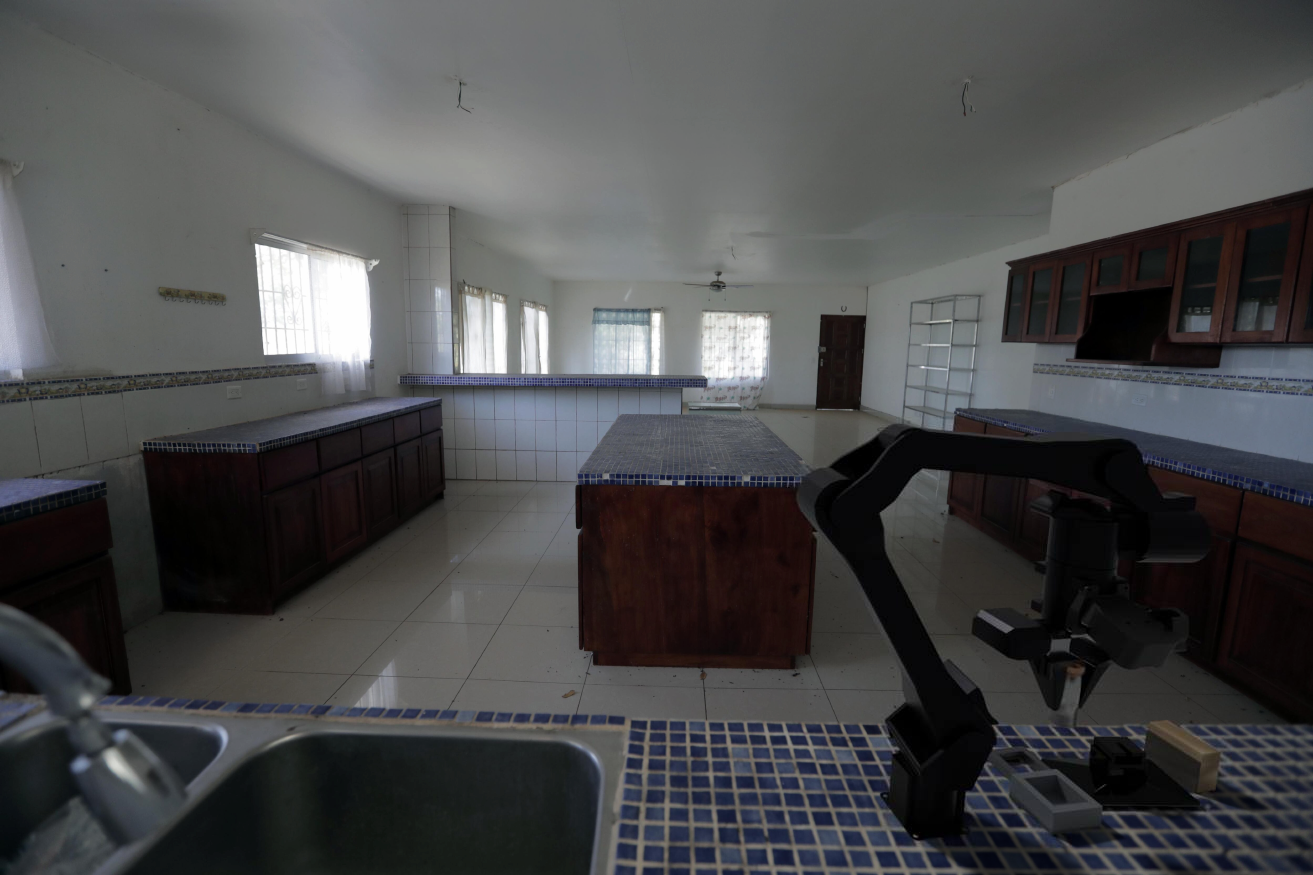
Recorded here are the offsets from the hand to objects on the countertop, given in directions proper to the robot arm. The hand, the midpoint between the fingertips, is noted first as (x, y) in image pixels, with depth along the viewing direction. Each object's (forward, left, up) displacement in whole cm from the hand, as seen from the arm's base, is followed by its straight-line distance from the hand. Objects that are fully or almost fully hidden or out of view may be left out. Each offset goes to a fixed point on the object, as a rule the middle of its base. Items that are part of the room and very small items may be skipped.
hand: (1063, 707), depth 61 cm
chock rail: (+19, +2, -12) cm, 22 cm away
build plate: (+11, +1, -13) cm, 17 cm away
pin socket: (+2, +6, -12) cm, 13 cm away
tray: (0, 0, -12) cm, 12 cm away
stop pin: (0, 0, -2) cm, 2 cm away
